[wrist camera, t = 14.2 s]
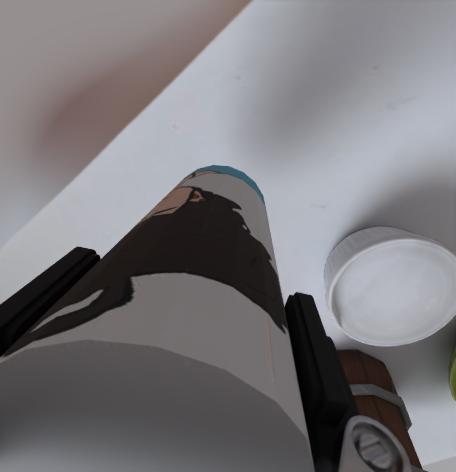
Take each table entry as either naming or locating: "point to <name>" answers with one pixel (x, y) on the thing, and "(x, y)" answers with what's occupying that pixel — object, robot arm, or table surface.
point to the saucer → (453, 373)
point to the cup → (164, 350)
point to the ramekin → (390, 286)
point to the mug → (379, 398)
